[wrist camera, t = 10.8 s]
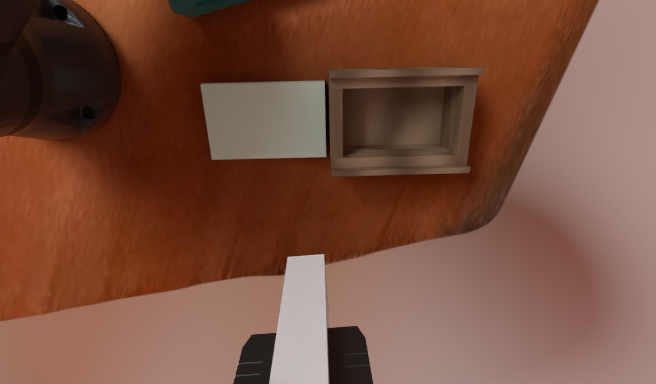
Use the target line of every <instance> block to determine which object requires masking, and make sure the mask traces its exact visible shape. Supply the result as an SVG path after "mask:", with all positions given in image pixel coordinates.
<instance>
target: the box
mask: <svg viewBox="0 0 656 384" xmlns="http://www.w3.org/2000/svg"><path fill="white" fill-rule="evenodd" d="M479 75H484V68H481V67H458V66H451V67H409V68H366V69H328V87H329V136H330V164H331V174H332V177H337V176H374V175H411V174H448V173H470V168H471V167H470V166H468V165H467V158H468V150H469V143H470V135H471V128H472V121H473V113H474V106H475V99H476V91H477V84H478V76H479Z"/></svg>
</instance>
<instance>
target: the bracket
mask: <svg viewBox="0 0 656 384" xmlns="http://www.w3.org/2000/svg"><path fill="white" fill-rule="evenodd" d="M168 1H169V4H170V7H171V9H172V11H173V12H175V13H178V14H182V15H185V16H188V17H191V18H193V17H197V16H200V15H203V14H207V13H210V12H214V11H217V10H220V9H224V8H227V7H231V6H234V5H238V4H241V3H244V2H248V1H251V0H168Z"/></svg>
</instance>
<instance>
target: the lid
mask: <svg viewBox="0 0 656 384" xmlns="http://www.w3.org/2000/svg"><path fill="white" fill-rule="evenodd" d="M200 85H201V92H202V98H203V105H204V112H205V118H206V125H207V131H208V138H209V145H210V151H211V158H212V160H223V159H264V158H305V157H326V123H325V81H324V80H321V81H271V82H222V83H203V84H200Z"/></svg>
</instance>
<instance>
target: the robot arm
mask: <svg viewBox="0 0 656 384" xmlns="http://www.w3.org/2000/svg"><path fill="white" fill-rule="evenodd" d="M119 93H120V71H119V65H118V61H117V58H116V55H115V52H114V50H113V47H112V45H111V43H110V41H109V40H108V38H107V36H106V35H105V33H104V31H103V30H102V29H101V27H100V26H99V25H98V23H97V22H96V21H95V20H94V19H93V18H92V17H91V15H89V14H88V13H87V12H86V11H85V10H84V9H83V8H82V7H81V6H79V5H78V4H77V3H75V2H74V1H72V0H0V137H3V136H7V135H9V136H18V137H27V138H36V139H45V140H60V139H68V138H72V137H76V136H79V135H82V134H85V133H88V132H91V131H93V130H95V129H96V128H98V127H100V126H101V125H102V124H103V123H104V122H105V121H106V120H107V119H108V118H109V117H110V116H111V114H112V112H113V111H114V109H115V107H116V104H117V102H118V98H119ZM233 384H373V380H372V374H371V369H370V363H369V357H368V351H367V345H366V339H365V337H364V335H363V334H362V333H361V331H360V330H359V328H358V327H357V326H352V327H351V326H350V327H337V328H329V312H328V297H327V285H326V273H325V261H324V254H320V255H306V256H293V257H288V259H287V266H286V272H285V279H284V286H283V293H282V300H281V306H280V314H279V320H278V327H277V333H269V334H256V335H251V337H250V338H249V340H248V341H247V343H246V344H245V345H244V346H243V348H242V352H241V356H240V360H239V365H238V368H237V371H236V378H235V379H234V383H233Z"/></svg>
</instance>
